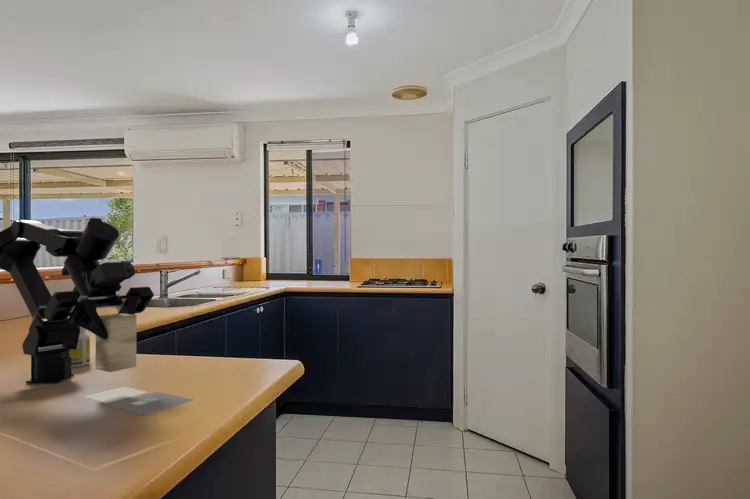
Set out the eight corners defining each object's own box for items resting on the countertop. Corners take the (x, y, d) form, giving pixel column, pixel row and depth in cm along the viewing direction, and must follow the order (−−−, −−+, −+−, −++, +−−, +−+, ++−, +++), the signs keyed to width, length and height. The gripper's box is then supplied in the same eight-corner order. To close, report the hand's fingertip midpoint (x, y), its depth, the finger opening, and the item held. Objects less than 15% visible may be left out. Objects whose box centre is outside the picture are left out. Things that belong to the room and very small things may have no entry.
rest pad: (83, 398, 89) (83, 396, 90) (124, 388, 96) (124, 386, 96) (107, 404, 85) (107, 403, 85) (148, 393, 92) (148, 392, 92)
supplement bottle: (80, 362, 122) (81, 323, 122) (94, 364, 119) (94, 324, 120) (59, 366, 117) (59, 326, 117) (72, 368, 114) (72, 327, 115)
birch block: (95, 369, 90) (95, 316, 90) (121, 363, 94) (121, 313, 95) (110, 372, 88) (110, 317, 88) (136, 366, 92) (136, 314, 92)
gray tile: (104, 407, 84) (104, 405, 84) (156, 393, 93) (156, 391, 93) (142, 417, 78) (142, 415, 78) (194, 401, 87) (194, 399, 87)
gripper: (52, 247, 85) (86, 312, 80) (148, 248, 101) (182, 303, 96) (30, 289, 89) (61, 355, 83) (126, 284, 105) (157, 339, 100)
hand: (120, 335), depth 90 cm, fingers closed on birch block, 5 cm apart
